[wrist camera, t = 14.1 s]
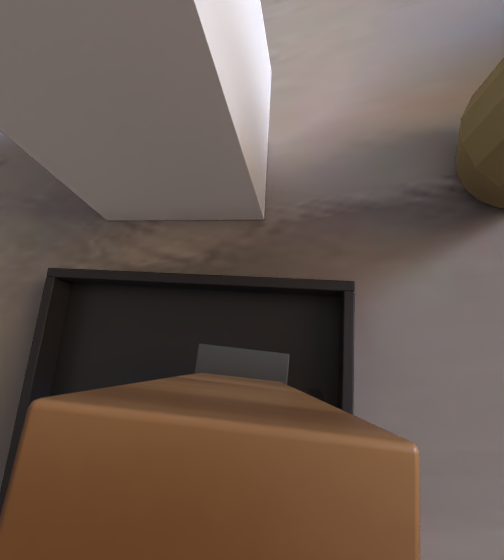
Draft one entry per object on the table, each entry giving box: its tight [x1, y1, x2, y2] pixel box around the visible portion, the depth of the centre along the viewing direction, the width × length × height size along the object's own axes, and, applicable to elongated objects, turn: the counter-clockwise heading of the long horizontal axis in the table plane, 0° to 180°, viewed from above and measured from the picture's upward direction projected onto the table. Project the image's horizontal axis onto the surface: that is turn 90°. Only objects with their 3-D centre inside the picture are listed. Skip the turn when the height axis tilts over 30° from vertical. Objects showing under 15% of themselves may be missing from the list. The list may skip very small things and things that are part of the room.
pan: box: [0, 268, 355, 515], centre depth 20 cm, size 19×19×2 cm
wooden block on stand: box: [0, 344, 420, 560], centre depth 10 cm, size 6×4×15 cm, turn 174°
